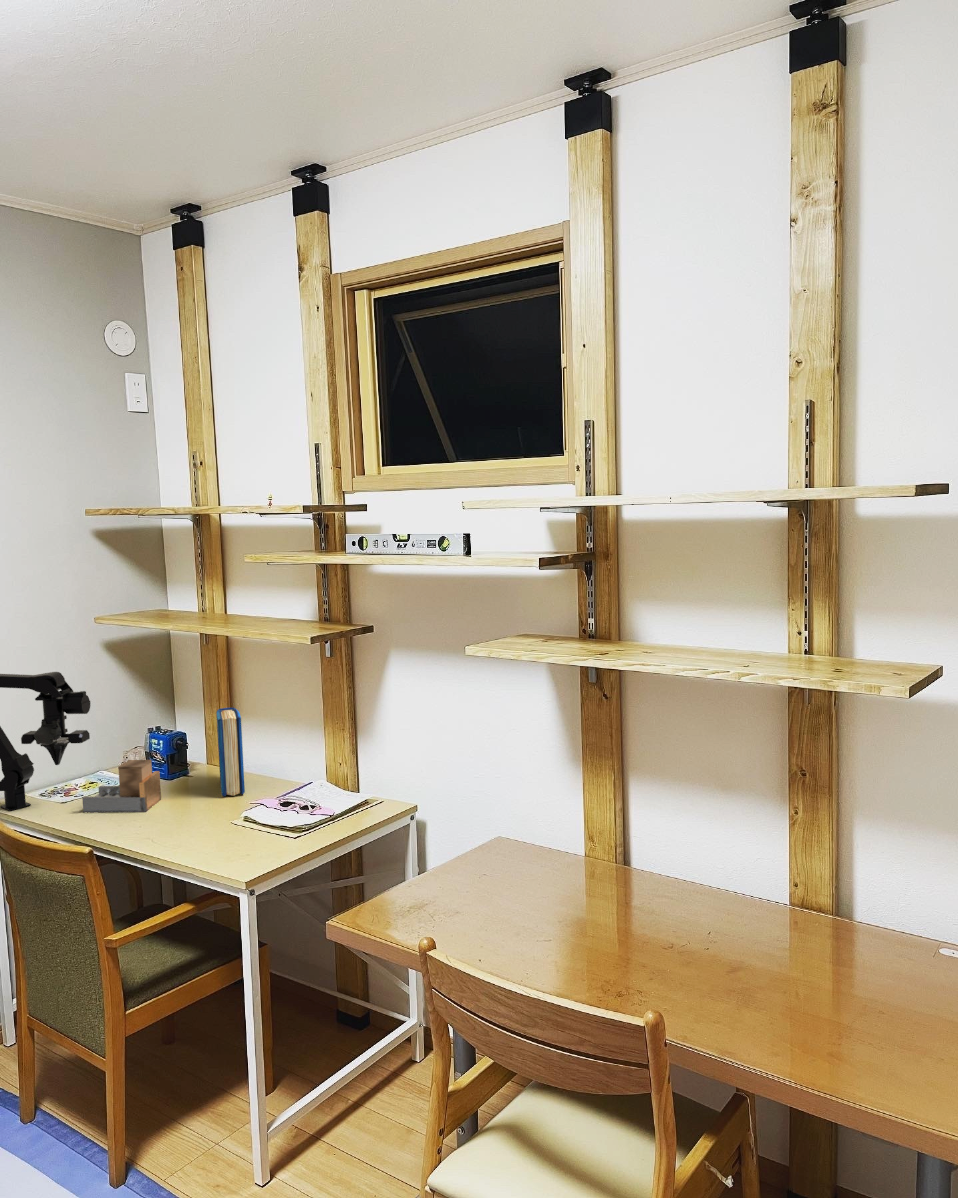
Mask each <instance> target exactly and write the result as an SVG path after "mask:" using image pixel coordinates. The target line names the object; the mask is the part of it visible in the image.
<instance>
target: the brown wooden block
mask: <svg viewBox="0 0 958 1198" xmlns="http://www.w3.org/2000/svg"><path fill="white" fill-rule="evenodd" d="M152 766H153V765H152V759H127V760H126V761H125V762H123V763H122V764H120V765H119V766H118V768H117V769H118V779H119V780H118V781H119V786H120V796H140V790H139V782H141V781H142V780H143V779H145V778H146V777H147V776H149V775H150V774H152V773H153V767H152Z"/></svg>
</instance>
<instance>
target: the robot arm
mask: <svg viewBox="0 0 958 1198" xmlns="http://www.w3.org/2000/svg"><path fill="white" fill-rule="evenodd" d="M65 679H66V678H65V676H64V675H63V674H62V673H61V672H59V671H50V672H43V673H38V674H15V673H11V674H10V673H0V688H1V689H3V688H5V689H23V690H25V689H27V690H32V691H34V692H35V693H39V694H38V695H37V696H36V697H35V698H34V700H35V701H36V702H38V701H42V712H43V714H42V715H43V719H41V722H40V723H41V725H40V727H38V728H37V730H30V731H27V732H26V733H24V734H23V733H22V735H21V737H20V741H21V745H31V744H33V742H34V741H35V742H36V745H39V746H40V747H43V748H45V749H46V750H47V751H48V753H49V755H50V757H51V758H52V760H53V763H54V765H55V766H59V765H60V764H61V761H62V758H63V755H64V753H65V751H66V749H67V747H68V745H69V744H82V743H84V742H86V741H89V740H90V732H89V731H88V729H85V730H84V729H79V730H78V729H76V730H74V731H72V732H70V733H69V732H68V728H66V720H67V719H68V717H67V715H87V714H88V713H90V709H91V700H90V698H89V696H88V694H87V691H86V690H80V691H74V689H73V687H71V686H70V685H69V683H68V682H67V681H66V680H65ZM65 714H66V715H65ZM0 764H1V771H2V774H3V778H1V780H0V792H3V795H4V804H2V805H0V808H1V809H4V810H6V811H9V812H12V811H15V810H18V809H22V808H26V807H30V806H32V805H31V803H29V802H27V801H26V799H27V798H26V789H25V787H26V786H25V785H26V784H29V782H30V780H31V778H32V776H34V772H35V768H34V764H35V763H34V762H32V761H31V759H30V756H29V755H28V753H24V754H20V753H19V752H17V750H16V749H15V747H14V745H13V744H12V742H11V740H10V739H9V737H8V735H7V734H6V733H5V731H4V729H3V728H2V727H1V725H0Z"/></svg>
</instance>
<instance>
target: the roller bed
mask: <svg viewBox="0 0 958 1198" xmlns="http://www.w3.org/2000/svg"><path fill="white" fill-rule="evenodd" d="M160 775H161V774H160V770H155V771H152V774H150V775H149V776H147V777H146V778H145V779H143V780H142V781H141V782H139V790H140V796H120V785H100V786H98V793H97V794H96V795H94V796H83V797H82V811H83V812H82V813H84V814H85V812H87V813H88V812H90V813H94V812H98V813H147V812H148V811H149V810H150V809H152V808H153V807H154V806H155V805H156V804H158V803H159V802H160V801H161V800H162V791H161V776H160ZM152 806H153V807H152Z"/></svg>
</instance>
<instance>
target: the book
mask: <svg viewBox="0 0 958 1198" xmlns="http://www.w3.org/2000/svg"><path fill="white" fill-rule="evenodd" d="M216 729H217V732H216V733H217V749H218V766H219V780H220V781H219V783H220V792H221V796H223V797H226V796H227V795H228V796H236V795H239V794H241V795H244V794H245V792H246V791H245V789H246V787H245V770H244V767H245V765H244V752H243V751H244V750H243V732H242V731H243V729H242V717H241V713H240V711H239V710H238V709H237V708H235V707H223V708H222V707H221V708H219V709H217V710H216Z"/></svg>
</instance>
